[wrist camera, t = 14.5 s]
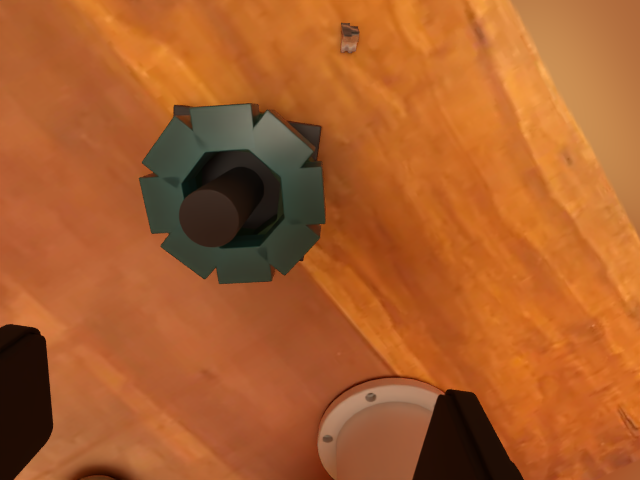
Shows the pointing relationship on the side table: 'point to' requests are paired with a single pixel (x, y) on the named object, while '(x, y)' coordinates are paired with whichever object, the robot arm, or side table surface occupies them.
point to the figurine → (349, 37)
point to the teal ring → (270, 148)
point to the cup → (97, 477)
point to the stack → (235, 193)
